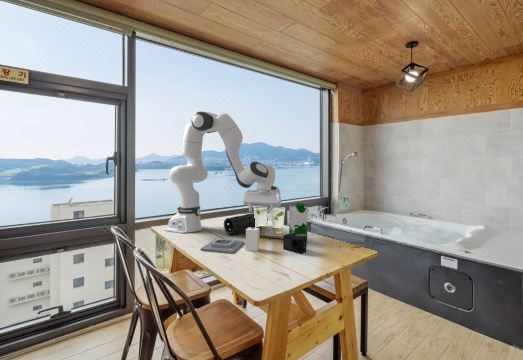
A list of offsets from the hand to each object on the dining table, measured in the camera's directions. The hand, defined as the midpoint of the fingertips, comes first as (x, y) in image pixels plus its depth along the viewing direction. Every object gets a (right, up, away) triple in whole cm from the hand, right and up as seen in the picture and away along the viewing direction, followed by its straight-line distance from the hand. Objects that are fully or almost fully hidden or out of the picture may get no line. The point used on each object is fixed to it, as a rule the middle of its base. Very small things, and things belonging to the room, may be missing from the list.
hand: (259, 212), depth 140 cm
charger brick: (-3, -17, -10) cm, 20 cm away
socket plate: (-18, -16, -6) cm, 25 cm away
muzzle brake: (-8, -14, +23) cm, 29 cm away
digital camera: (+16, -17, -11) cm, 26 cm away
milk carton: (+20, -16, +4) cm, 26 cm away
